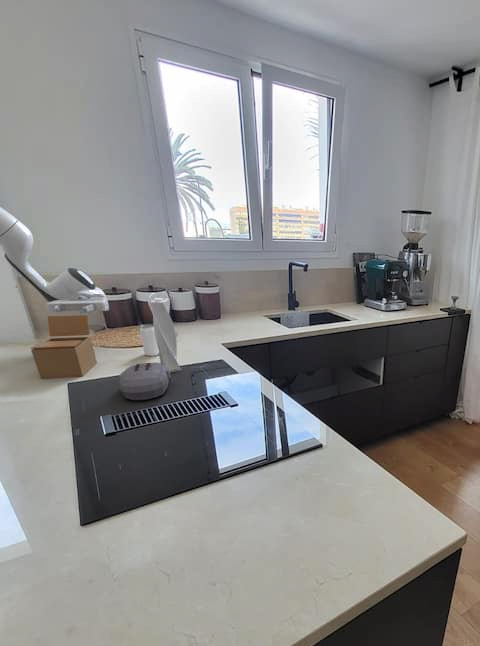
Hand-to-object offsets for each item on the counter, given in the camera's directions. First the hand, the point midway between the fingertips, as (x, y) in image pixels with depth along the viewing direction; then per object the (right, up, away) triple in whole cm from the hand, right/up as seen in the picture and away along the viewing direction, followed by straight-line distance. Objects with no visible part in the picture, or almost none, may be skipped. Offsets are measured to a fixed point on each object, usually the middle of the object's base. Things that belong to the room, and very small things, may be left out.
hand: (71, 309), depth 149 cm
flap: (+1, -7, -3) cm, 7 cm away
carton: (+3, -24, -4) cm, 24 cm away
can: (+23, -15, +16) cm, 32 cm away
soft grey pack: (+40, -32, -19) cm, 54 cm away
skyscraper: (+38, -23, -1) cm, 45 cm away
